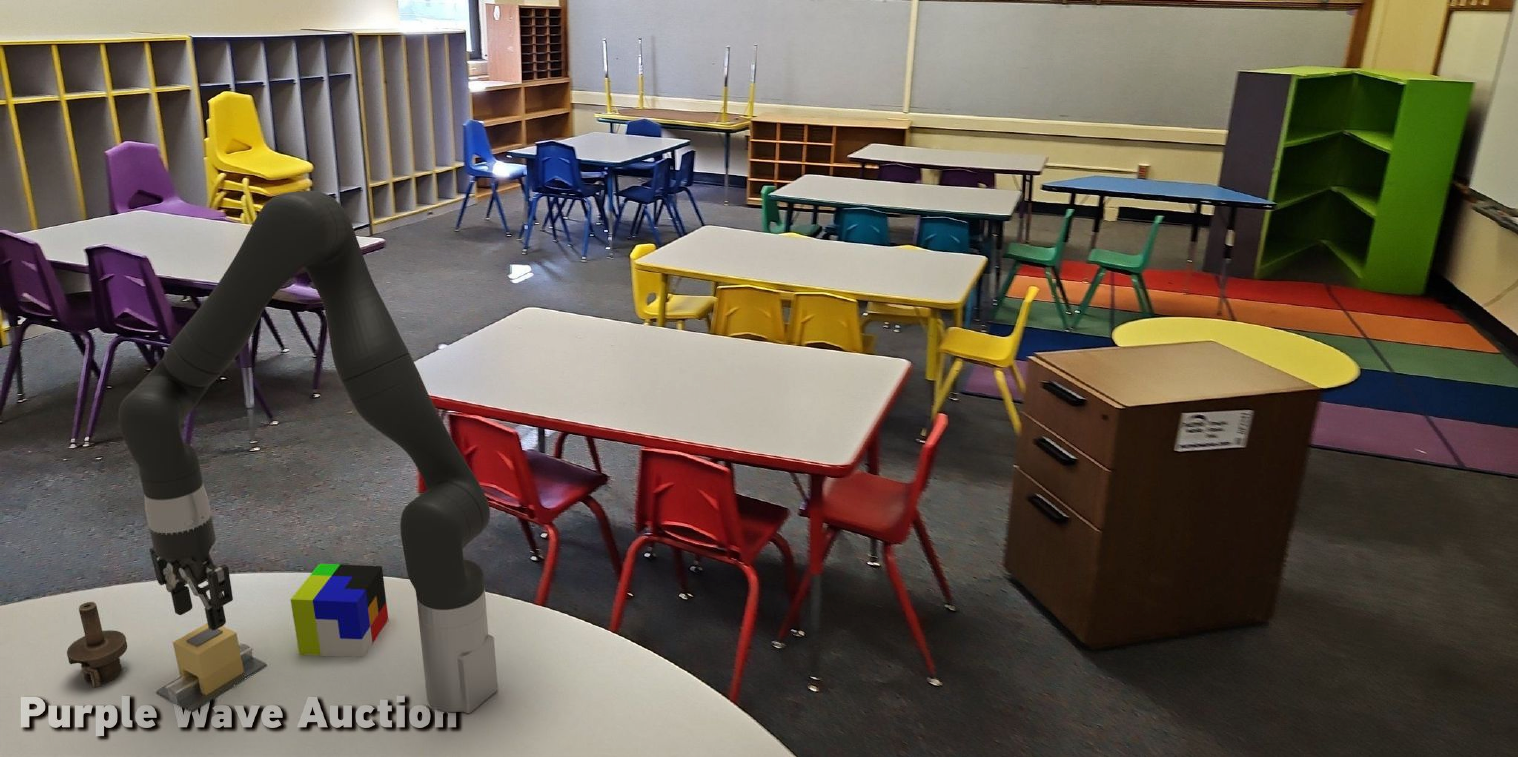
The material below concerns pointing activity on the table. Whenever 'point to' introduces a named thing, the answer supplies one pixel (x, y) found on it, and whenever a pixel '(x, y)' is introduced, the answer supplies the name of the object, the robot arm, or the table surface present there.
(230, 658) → the block
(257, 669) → the rail
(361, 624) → the puzzle toy
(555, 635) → the table surface
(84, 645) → the industrial component
